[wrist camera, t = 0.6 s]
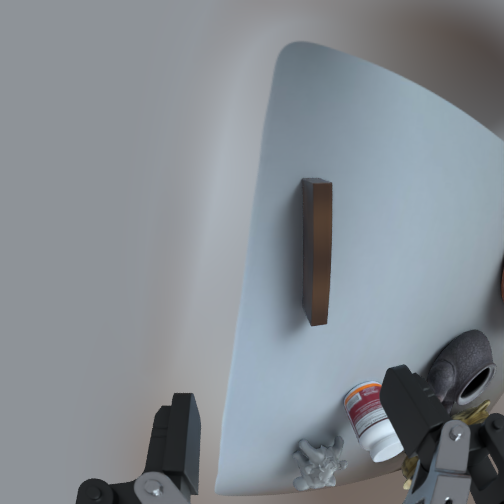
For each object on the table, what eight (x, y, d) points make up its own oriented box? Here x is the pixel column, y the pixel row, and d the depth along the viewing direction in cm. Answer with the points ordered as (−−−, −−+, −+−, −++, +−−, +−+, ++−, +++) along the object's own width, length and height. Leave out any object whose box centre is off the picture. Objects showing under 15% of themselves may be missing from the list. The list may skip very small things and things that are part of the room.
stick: (301, 178, 25) (312, 183, 21) (319, 177, 25) (332, 182, 21) (302, 307, 29) (310, 326, 26) (317, 305, 29) (327, 324, 26)
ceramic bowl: (440, 448, 50) (454, 473, 41) (367, 473, 48) (379, 504, 38) (499, 366, 40) (523, 392, 31) (426, 390, 38) (453, 430, 28)
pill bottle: (380, 399, 37) (407, 453, 26) (342, 412, 37) (364, 470, 26) (383, 373, 34) (417, 431, 24) (342, 387, 34) (369, 451, 24)
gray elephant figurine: (342, 426, 38) (356, 463, 31) (337, 457, 42) (347, 488, 35) (285, 439, 38) (293, 478, 31) (289, 468, 42) (295, 500, 35)
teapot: (426, 333, 33) (466, 379, 23) (489, 320, 34) (525, 353, 25) (384, 420, 39) (405, 463, 30) (447, 401, 40) (470, 435, 31)
